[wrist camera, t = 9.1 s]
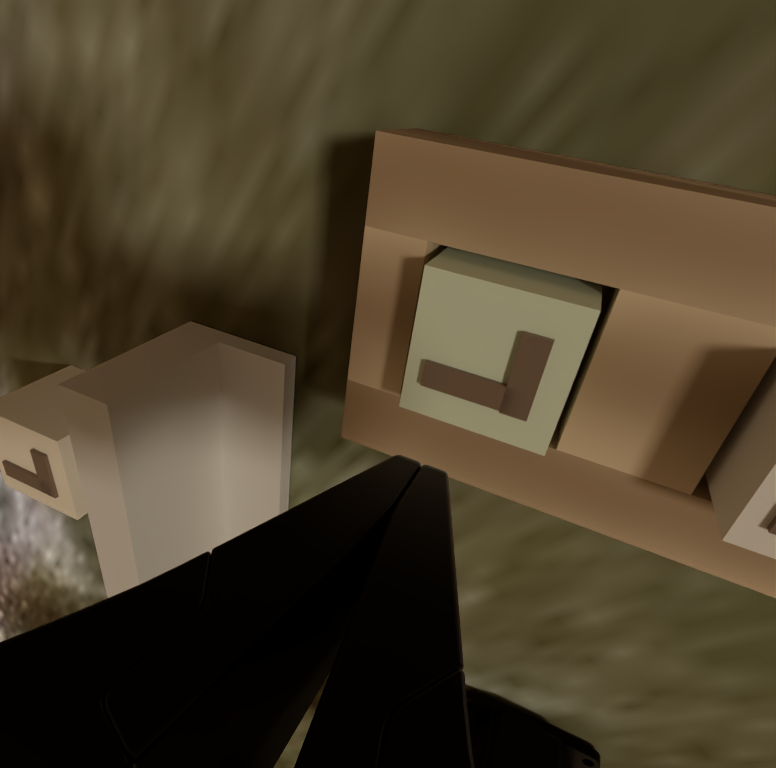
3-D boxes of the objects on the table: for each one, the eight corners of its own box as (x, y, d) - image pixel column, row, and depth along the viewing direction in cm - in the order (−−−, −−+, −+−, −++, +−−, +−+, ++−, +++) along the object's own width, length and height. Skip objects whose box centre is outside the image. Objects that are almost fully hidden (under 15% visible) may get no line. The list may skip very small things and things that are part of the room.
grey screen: (284, 587, 27) (209, 694, 22) (206, 550, 28) (118, 643, 23) (296, 356, 19) (187, 436, 14) (190, 320, 21) (57, 384, 16)
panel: (875, 564, 15) (927, 654, 12) (377, 395, 19) (340, 436, 16) (1160, 267, 10) (1337, 315, 8) (417, 128, 14) (376, 130, 12)
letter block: (152, 463, 26) (74, 522, 22) (87, 435, 27) (2, 487, 24) (143, 391, 24) (53, 443, 20) (72, 364, 25) (-26, 408, 21)
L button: (555, 401, 15) (544, 459, 13) (431, 362, 16) (396, 409, 14) (603, 274, 13) (600, 313, 11) (457, 239, 14) (422, 266, 12)
